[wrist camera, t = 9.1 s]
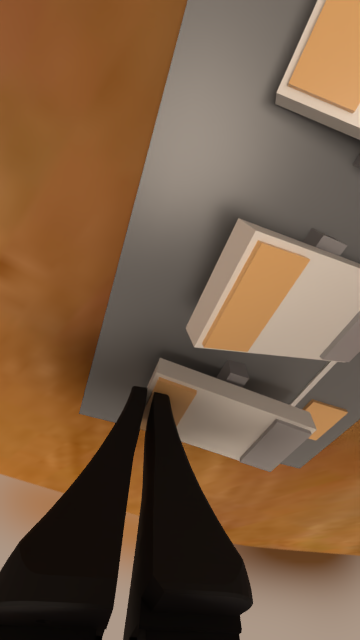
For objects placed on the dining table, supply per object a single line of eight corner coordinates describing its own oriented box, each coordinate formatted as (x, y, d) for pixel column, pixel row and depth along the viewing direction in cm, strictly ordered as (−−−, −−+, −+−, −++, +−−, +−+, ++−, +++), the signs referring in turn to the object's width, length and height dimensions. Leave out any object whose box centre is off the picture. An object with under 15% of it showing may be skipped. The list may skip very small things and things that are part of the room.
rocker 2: (309, 412, 13) (318, 433, 12) (267, 453, 15) (271, 474, 14) (160, 357, 12) (155, 375, 11) (136, 409, 14) (131, 428, 13)
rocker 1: (393, 276, 11) (421, 292, 10) (330, 347, 13) (348, 365, 12) (238, 218, 7) (260, 232, 6) (185, 328, 9) (196, 351, 8)
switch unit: (786, 19, 7) (967, -22, 6) (294, 455, 20) (305, 483, 18) (313, -450, 5) (389, -812, 3) (84, 400, 17) (73, 428, 15)
